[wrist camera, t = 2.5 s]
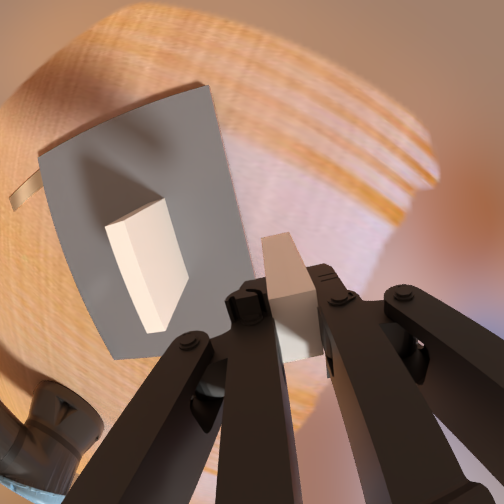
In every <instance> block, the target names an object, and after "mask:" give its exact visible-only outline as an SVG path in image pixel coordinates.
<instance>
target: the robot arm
mask: <svg viewBox="0 0 504 504" xmlns="http://www.w3.org/2000/svg"><path fill="white" fill-rule="evenodd" d="M261 242H262V250H263V258H264V267H265V275H266V277H263V278H258V279H253V280H249V281H245V282H244V283H243V284H242V285H241V287H240V289H239V290H237V291H235V292H233V293H231V294H230V295H229V296H227V297H226V299H225V301H224V302H225V305H226V308H227V311H228V314H229V317H230V321H231V329H230V330H229V331H227V332H225V333H223V334H221V335H219V336H216V337H213V338H209V336H208V334H207V333H205V332H204V331H198V330H196V331H189V332H186V333H183V334H182V335H180V336H178V337H176V338H175V339H174V340H173V341H172V343H171V344H170V345H169V347H168V348H167V350H166V351H165V352H164V354H163V355H162V357H161V358H160V359H159V361H158V362H157V364H156V365H155V367H154V368H153V369H152V371H151V372H150V374H149V375H148V377H147V378H146V379H145V381H144V382H143V384H142V385H141V387H140V388H139V389H138V391H137V392H136V394H135V395H134V397H133V398H132V399H131V401H130V402H129V404H128V405H127V407H126V408H125V409H124V411H123V412H122V414H121V415H120V417H119V418H118V420H117V421H116V422H115V424H114V425H113V427H112V428H111V430H110V431H109V433H108V434H107V436H106V437H105V438H104V440H103V441H102V443H101V444H100V446H99V447H98V449H97V450H96V452H95V453H94V455H93V456H92V458H91V459H90V461H89V462H88V464H87V465H86V466H85V468H84V469H83V471H82V472H81V474H80V476H79V477H78V478H77V480H76V481H75V483H74V484H73V486H72V487H71V489H70V490H69V488H70V486H71V483H72V481H73V478H74V475H75V473H76V470H77V468H78V465H79V462H80V460H81V458H82V456H83V454H84V453H85V452H86V451H87V450H88V449H89V448H90V447H91V446H92V445H93V444H94V443H95V442H96V441H98V440H99V439H100V437H101V435H102V432H103V430H104V423H103V421H102V419H101V417H100V416H99V415H98V413H97V412H96V411H95V410H94V409H93V408H92V407H91V406H90V405H89V404H88V403H87V402H86V401H85V400H83V399H82V398H81V397H79V396H78V395H77V394H75V393H74V392H72V391H71V390H69V389H67V388H65V387H64V386H62V385H59V384H57V383H54V382H51V381H42V382H40V383H39V384H38V386H37V387H36V389H35V390H34V393H33V398H32V402H31V406H30V411H29V416H28V419H27V420H26V422H25V424H23V423H22V422H21V421H20V420H19V419H18V418H17V417H16V416H15V415H14V414H13V413H12V412H11V411H10V410H9V409H8V408H7V407H6V406H5V405H4V404H3V403H2V402H1V400H0V483H1V484H2V485H4V486H5V487H7V488H9V489H10V490H12V491H13V492H15V493H17V494H19V495H20V496H22V497H24V498H26V499H27V500H29V501H31V502H33V503H35V504H189V502H190V500H191V497H192V495H193V493H194V490H195V488H196V486H197V483H198V481H199V478H200V476H201V474H202V471H203V469H204V466H205V464H206V462H207V459H208V457H209V454H210V452H211V449H212V447H213V444H214V442H215V439H216V437H217V434H218V432H219V429H220V427H221V437H220V449H219V461H218V474H217V486H216V500H215V504H303V501H302V493H301V485H300V477H299V470H298V461H297V454H296V447H295V439H294V431H293V424H292V417H291V410H290V403H289V396H288V389H287V382H286V375H285V370H284V365H283V363H286V362H291V361H296V360H301V359H306V358H310V357H314V356H319V355H323V354H324V353H323V348H324V351H325V356H326V367H327V378H331V381H332V384H333V387H334V390H335V394H336V397H337V400H338V404H339V407H340V410H341V414H342V417H343V421H344V424H345V427H346V431H347V434H348V438H349V441H350V445H351V449H352V452H353V456H354V459H355V463H356V467H357V471H358V474H359V478H360V482H361V486H362V490H363V494H364V498H365V502H366V504H496V503H495V501H494V499H493V497H492V495H491V493H490V492H489V490H488V488H486V487H485V486H484V485H482V484H481V483H476V482H471V481H469V480H468V479H467V478H466V477H465V475H464V474H463V472H462V469H461V467H460V465H459V463H458V461H457V459H456V457H455V455H454V453H453V451H452V449H451V447H450V445H449V443H448V441H447V439H446V437H445V435H444V433H443V431H442V429H441V427H440V426H439V424H438V422H437V420H436V418H435V416H436V417H437V418H438V419H439V420H440V421H441V422H442V423H443V424H444V425H445V426H446V427H447V428H448V429H449V430H450V431H451V432H452V433H453V434H454V435H455V436H456V437H457V438H458V439H459V440H460V441H461V442H462V443H463V444H464V445H465V446H466V447H467V449H468V450H469V451H470V452H471V453H472V454H473V455H474V456H475V457H476V458H477V459H478V460H479V461H480V462H481V463H482V464H483V465H484V466H485V467H486V468H487V469H488V470H489V472H490V473H491V474H492V475H493V476H494V477H495V478H496V479H497V480H498V481H499V482H500V483H501V484H502V485H503V486H504V340H503V339H501V338H500V337H498V336H497V335H495V334H494V333H492V332H491V331H489V330H487V329H486V328H484V327H483V326H481V325H480V324H478V323H476V322H475V321H473V320H471V319H470V318H468V317H466V316H465V315H463V314H462V313H460V312H458V311H457V310H455V309H453V308H452V307H450V306H448V305H447V304H445V303H443V302H442V301H440V300H438V299H436V298H435V297H433V296H431V295H430V294H428V293H426V292H424V291H423V290H421V289H419V288H417V287H415V286H412V285H406V284H402V285H396V286H393V287H391V288H389V289H388V290H386V292H385V293H384V300H379V301H363V300H362V299H361V298H360V296H359V295H358V294H357V293H356V292H354V291H350V290H347V289H346V287H345V286H344V284H343V283H342V281H341V280H340V278H338V275H337V274H336V273H335V271H334V269H333V268H332V267H331V266H329V265H327V264H319V265H315V266H310V267H305V265H304V262H303V260H302V258H301V256H300V254H299V252H298V250H297V248H296V246H295V243H294V241H293V239H292V237H291V235H290V233H289V232H287V233H282V234H277V235H273V236H268V237H263V238H261ZM418 340H419V341H421V342H422V343H423V344H424V346H422V345H420V344H419V343H418ZM433 414H434V415H435V416H434V415H433ZM221 424H222V426H221Z"/></svg>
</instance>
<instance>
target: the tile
mask: <svg viewBox="0 0 504 504" xmlns="http://www.w3.org/2000/svg"><path fill="white" fill-rule="evenodd" d="M105 229H106V232H107V235H108V238H109V241H110V244H111V247H112V250H113V253H114V256H115V258H116V261H117V264H118V266H119V269H120V272H121V274H122V277H123V279H124V282H125V284H126V287H127V289H128V292H129V294H130V297H131V299H132V301H133V304H134V306H135V308H136V310H137V313H138V315H139V317H140V319H141V322H142V324H143V326H144V328H145V330H146V332H147V334H148V333H155V332H162V331H166V329H167V327H168V324H169V322H170V320H171V317H172V315H173V313H174V310H175V308H176V306H177V303H178V301H179V299H180V297H181V294H182V292H183V290H184V288H185V286H186V283H187V281H188V279H189V276H188V273H187V270H186V267H185V264H184V261H183V258H182V255H181V252H180V249H179V245H178V242H177V239H176V236H175V232H174V229H173V226H172V222H171V219H170V215H169V212H168V208H167V205H166V201H165V198H163V199H160V200H156V201H153V202H150V203H148V204H146V205H144V206H142V207H140V208H138V209H136V210H134V211H132V212H131V213H129V214H127V215H125V216H123V217H121V218H119V219H118V220H116V221H114V222H112V223H110V224H109V225H107V226H105Z"/></svg>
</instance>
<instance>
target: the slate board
mask: <svg viewBox="0 0 504 504" xmlns="http://www.w3.org/2000/svg"><path fill="white" fill-rule="evenodd" d="M38 162H39V167H40V172H41V177H42V181H43V186H44V190H45V194H46V198H47V202H48V205H49V209H50V212H51V216H52V219H53V223H54V226H55V229H56V232H57V235H58V238H59V241H60V244H61V247H62V250H63V252H64V255H65V258H66V261H67V263H68V266H69V268H70V271H71V273H72V276H73V278H74V281H75V283H76V285H77V288H78V290H79V292H80V295H81V297H82V299H83V301H84V303H85V306H86V308H87V310H88V312H89V314H90V316H91V318H92V320H93V322H94V324H95V326H96V328H97V330H98V332H99V334H100V336H101V337H102V339H103V341H104V343H105V345H106V347H107V348H108V350H109V352H110V354H111V355H112V357H113V359H114V360H120V359H135V358H147V357H157V356H162V355H163V354H164V352H165V351H166V350H167V348H168V347H169V345H170V344H171V343H172V341H173V340H174V339H175V338H176V337H178V336H180V335H182V334H183V333H186V332H189V331H196V330H198V331H204V332H205V333H207V334H208V336H209V338H213V337H216V336H219V335H221V334H223V333H225V332H227V331H229V330H230V329H231V321H230V317H229V314H228V311H227V308H226V305H225V302H224V301H225V299H226V297H227V296H229V295H230V294H231V293H233V292H235V291H237V290H239V289H240V287H241V285H242V284H243V283H244V282H245V281H249V280H253V279H256V276H255V271H254V267H253V263H252V259H251V255H250V251H249V247H248V243H247V238H246V234H245V230H244V226H243V222H242V218H241V214H240V209H239V205H238V201H237V197H236V193H235V189H234V185H233V180H232V176H231V172H230V168H229V164H228V160H227V155H226V151H225V147H224V143H223V139H222V135H221V130H220V126H219V122H218V118H217V114H216V109H215V105H214V101H213V97H212V93H211V89H210V86H209V85H207V86H203V87H199V88H196V89H192V90H189V91H185V92H182V93H179V94H176V95H173V96H170V97H167V98H164V99H161V100H158V101H155V102H152V103H149V104H147V105H144V106H141V107H139V108H136V109H134V110H131V111H129V112H126V113H124V114H122V115H119V116H117V117H115V118H112V119H110V120H108V121H106V122H103V123H101V124H99V125H97V126H95V127H93V128H91V129H89V130H87V131H85V132H83V133H81V134H79V135H77V136H75V137H73V138H71V139H69V140H67V141H66V142H64V143H62V144H60V145H58V146H57V147H55V148H53V149H52V150H50V151H48V152H46V153H45V154H43V155H42V156H40V157H38ZM163 198H165V201H166V205H167V208H168V212H169V215H170V219H171V222H172V226H173V229H174V232H175V236H176V239H177V242H178V245H179V249H180V252H181V255H182V258H183V261H184V264H185V267H186V270H187V273H188V276H189V279H188V281H187V283H186V286H185V288H184V290H183V292H182V294H181V297H180V299H179V301H178V303H177V306H176V308H175V310H174V313H173V315H172V317H171V320H170V322H169V324H168V327H167V329H166V331H162V332H155V333H148V334H147V332H146V330H145V328H144V326H143V324H142V322H141V319H140V317H139V315H138V313H137V310H136V308H135V306H134V304H133V301H132V299H131V297H130V294H129V292H128V289H127V287H126V284H125V282H124V279H123V277H122V274H121V272H120V269H119V266H118V264H117V261H116V258H115V256H114V253H113V250H112V247H111V244H110V241H109V238H108V235H107V232H106V229H105V226H107V225H109V224H110V223H112V222H114V221H116V220H118V219H119V218H121V217H123V216H125V215H127V214H129V213H131V212H132V211H134V210H136V209H138V208H140V207H142V206H144V205H146V204H148V203H150V202H153V201H156V200H160V199H163Z"/></svg>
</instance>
